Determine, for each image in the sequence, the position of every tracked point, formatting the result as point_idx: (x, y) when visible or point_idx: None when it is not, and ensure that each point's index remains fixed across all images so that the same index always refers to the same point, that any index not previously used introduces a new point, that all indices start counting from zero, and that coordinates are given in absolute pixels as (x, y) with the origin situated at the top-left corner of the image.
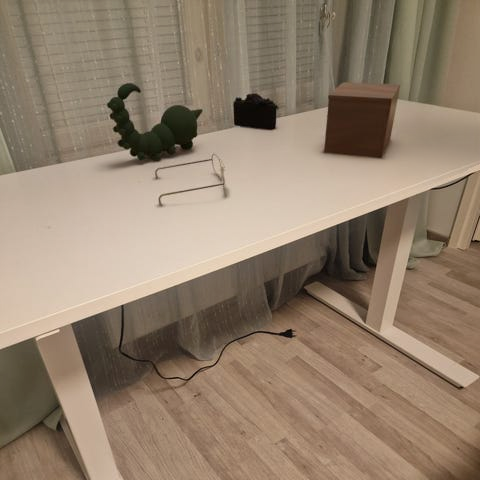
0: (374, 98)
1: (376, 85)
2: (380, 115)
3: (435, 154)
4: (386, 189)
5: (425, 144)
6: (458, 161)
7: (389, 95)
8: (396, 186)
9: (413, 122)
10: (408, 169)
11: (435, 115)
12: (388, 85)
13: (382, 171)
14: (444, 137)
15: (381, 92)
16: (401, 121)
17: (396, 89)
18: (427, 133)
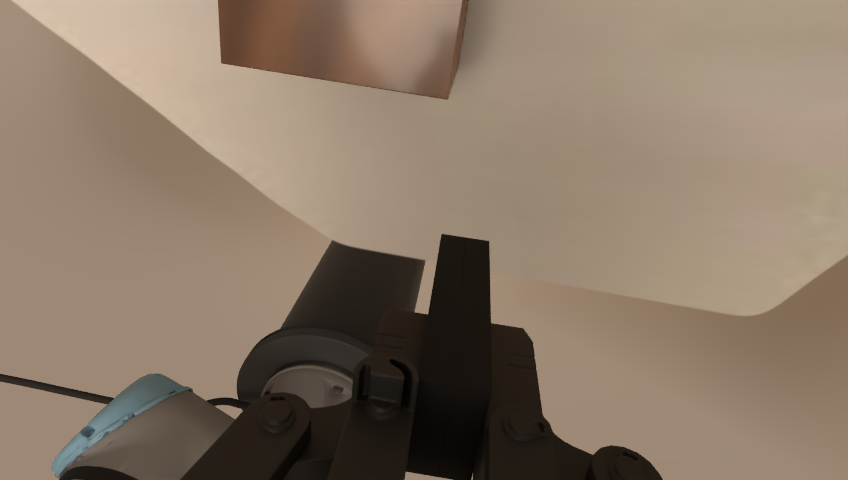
0: (218, 5)
1: (420, 8)
2: None
3: (359, 174)
4: (102, 53)
5: (435, 160)
6: (322, 213)
7: (259, 56)
8: (127, 74)
9: (665, 147)
10: (237, 105)
11: (750, 219)
12: (425, 56)
13: (203, 44)
14: (504, 211)
15: (300, 29)
16: (681, 111)
17: (358, 82)
18: (540, 175)
